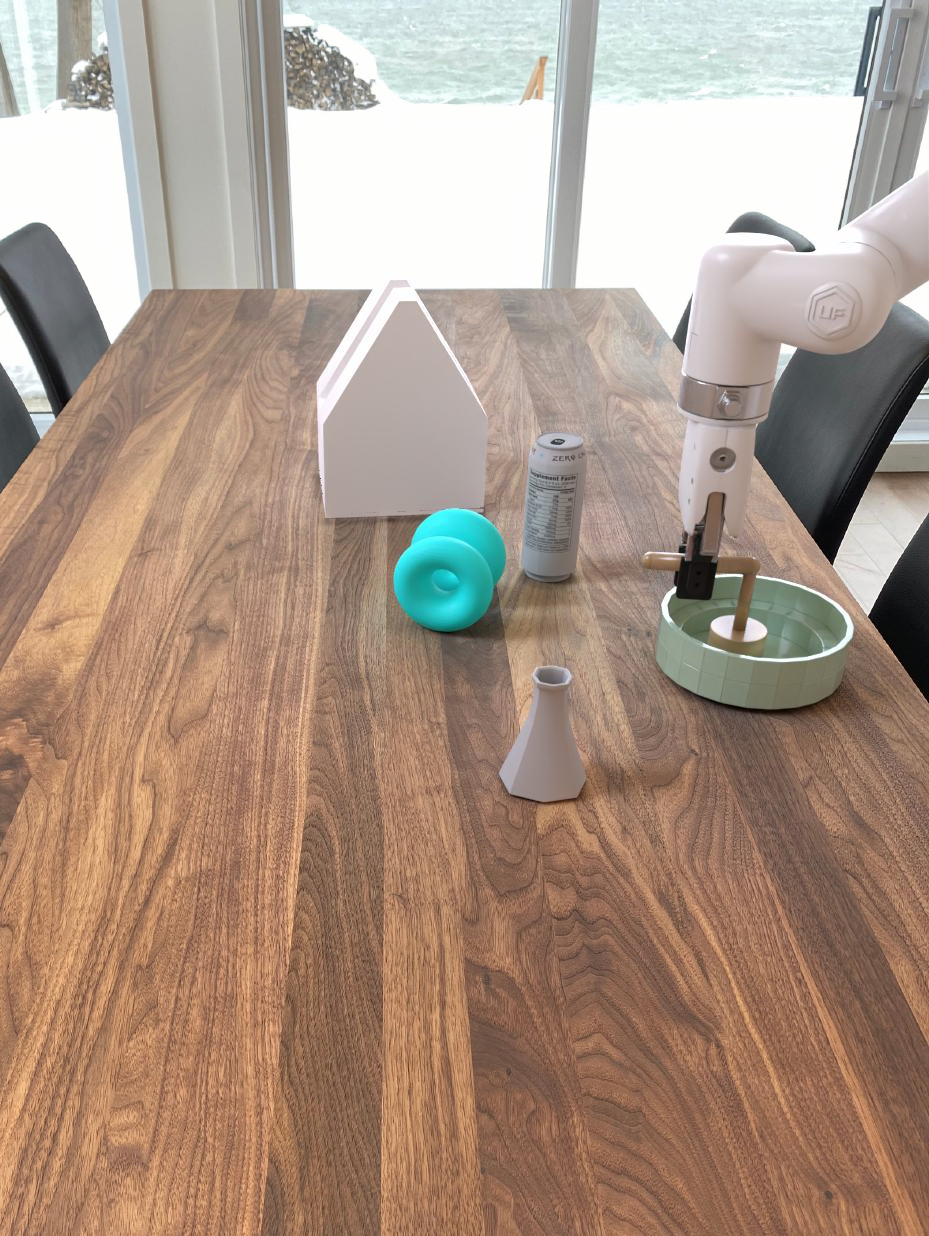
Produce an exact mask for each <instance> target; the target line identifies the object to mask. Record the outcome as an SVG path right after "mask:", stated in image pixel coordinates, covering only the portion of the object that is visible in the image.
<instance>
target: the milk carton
mask: <svg viewBox="0 0 929 1236" xmlns="http://www.w3.org/2000/svg"><path fill="white" fill-rule="evenodd" d="M316 412H317V415H316V416H317V443H318V444H317V445H318V447H317V448H318V449H317V450H318V471H319V470H320V471H319V472H318V474H319V481H320V488H321V496H322V503H323V510H324V518H325V519H344V518H346V519H347V518H370V517H371V518H373V517H375V518H376V517H399V516H401V517H402V516H426V515H432V514H434V513H436V512H439V511H442V510H435V509H449V508H450V509H452V508H480V507H484V509H485V506H484V505H485V491H486V470H487V453H488V438H489V436H488V434H489V417H488V415H487V413H486V411H485V410H484V407H483V405H482V403H481V401H480V399H479V397H478V395H477V393H476V391H475V388H474V387H473V385H472V383H471V381H470V379H469V378H468V376H467V374H466V373H465V371H464V369H463V367H462V365H461V364H460V362H459V361H458V359H457V357H456V356H455V354H454V352H453V350H452V349H451V347H450V346H449V344H448V343H447V341H446V339H445V338H444V336H443V334H442V333H441V330H440V329H439V328H438V326H437V324H436V323H435V321H434V319H433V318H432V316H431V314H430V312H429V311H428V309H427V308H426V307H425V305H424V303H423V301H422V300H421V297H420V296H419V295H418V293H417V291H416V290H415V287H414V286H413V284H412V283H411V281H410V280H409V278H408V277H407V275H406V273H405V272H404V269H403V268H402V267H392V268H391V267H387V268H385V269H384V270H383V272H382V273H381V275H380V277H379V278H378V280H377V281H376V284H375V285H374V287H373V288H372V290H371V292H370V293H369V295H368V297H367V298H366V300H365V302H364V303H363V305H362V306H361V308H360V310H359V312H358V313H357V315H356V317H355V318H354V320H353V322H352V324H351V325H350V327H349V328H348V330H347V331H346V333H345V335H344V337H343V339H342V340H341V342H340V343H339V345H338V347H337V348H336V350H335V352H334V353H333V354H332V356H331V358H330V360H329V361H328V363H327V364H326V367H325V368H324V370H323V372H321V375H320V377H319V378H318V380H317V381H316ZM320 478H321V479H320ZM321 485H322V486H321ZM322 493H323V494H322ZM484 509H466V510H470V511H473V512H476V513H478V514H480V513H484ZM420 510H432V511H420ZM392 511H393V512H392ZM397 511H406V512H397ZM367 512H379V513H367ZM347 513H353V514H347Z"/></svg>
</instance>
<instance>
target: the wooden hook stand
mask: <svg viewBox="0 0 929 1236" xmlns="http://www.w3.org/2000/svg"><path fill="white" fill-rule="evenodd" d="M681 556H684V557H685V554H683V553H678V552H664V551H663V552H662V551H661V552H660V551H648V552H646V553H644V555H642V557H641V565H642V566H643V567H644V568H645V569H646V570H650V571H651V570H652V571H653V570H654V571H655V570H656V571H670V572H675V571H679V567H680V561H681ZM761 567H762V565H761V561H760V560H759V559H758V558H756V557H753V556H738V555H719V554H718V564H717V570H716V574H722V575H725V574H741V575H743V576H742V581H741V586H740V592H739V597H738V602H737V607H736V612H735V615H728V616H722V617H718V618H716V619H714V620H713V621H712V623H711V625H710V631H709V636H708V641H707V645H709V646H711V647H714V648H717V649H721V650H724V651H727V652H730V653H734V654H740V655H745V656H751V657H756V658H762V657H763V652H764V648H765V643H766V638H767V633H768V632H767V628H766V627H765V626H764V625H763V624H762V623H760V622H759V621H757V620H754V619H752V618H748V615H749V610H750V605H751V600H752V596H753V591H754V586H755V581H756V576H757V575H758V573H759V572H760V570H761Z"/></svg>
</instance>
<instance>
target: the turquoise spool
mask: <svg viewBox="0 0 929 1236" xmlns="http://www.w3.org/2000/svg"><path fill="white" fill-rule="evenodd" d="M506 564H507V550H506V546H505V542H504V540H503V537H502V535H501V533H500V532H499V530H498V528H497V527H496V526H495V524H493V523H492V522H491V521H490V520H489V519H488V518H486V517H485V516H483V515H482V514H480V513H476V512H473V511H470V510H466V509H459V508H452V509H445V510H442V511H439V512H436V513H434V514H430V515H429V516H428V517H426V518H425V519H424V520H423V521H422V522H421V523H420V524H419V526H418V527H417V528H416V530H415V532H414V533H413V536H412V539H411V543H410V546H409V547H407V549H406V550H405V551H404V552H403V553H402V554H401V556H400V557H399V559H398V561H397V562H396V564H395V568H394V572H393V589H394V594H395V597H396V600H397V602H398V604H399V605H400V608H401V609H402V610H403V612H404V613H405V614H406V615H407V616H408V617H409V618H410V619H412V620H413V622H415V623H416V624H419V625H420V626H422V627H424V628H426V629H429V630H432V631H437V632H444V633H445V632H448V633H450V632H457V631H461V630H464V629H467V628H469V627H471V626H472V625H475V624H476V623H477V622H478V621H479V620H480V619H482V618H483V616H485V614H486V612H487V611H488V609H489V608H490V605H491V603H492V600H493V597H494V587H495V586H496V585H497V584H498V583H499V582H500V580H501V578H502V577H503V574H504V572H505V568H506Z"/></svg>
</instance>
